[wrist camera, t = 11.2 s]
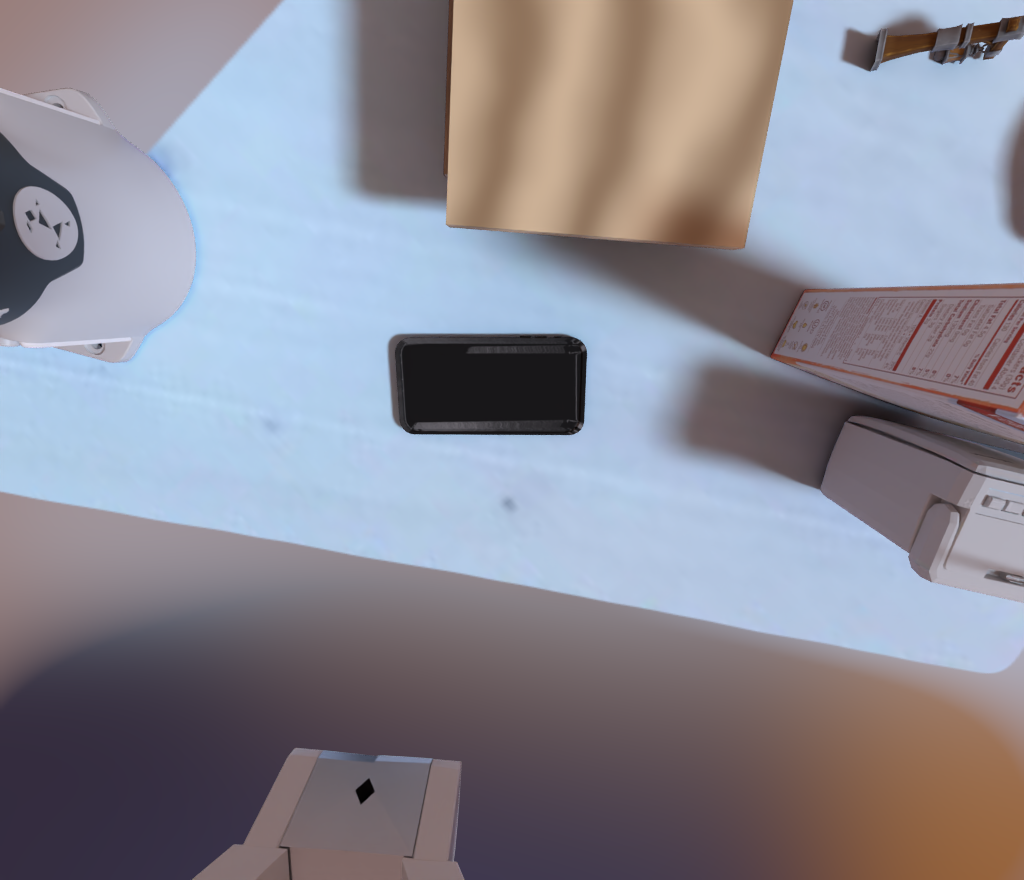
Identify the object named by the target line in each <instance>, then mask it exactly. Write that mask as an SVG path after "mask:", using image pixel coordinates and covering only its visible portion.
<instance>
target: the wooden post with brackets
mask: <svg viewBox="0 0 1024 880" xmlns="http://www.w3.org/2000/svg"><path fill="white" fill-rule="evenodd" d="M962 25H963V24H962ZM962 25H959V26H957V27H951V28H946V29H938V31H937V32H934V33H928V34H918V35H902V36H890V35H887V31H888V29H884V30H883V29H881V30H880V32H879V34H878V37H877V39H876V40H877V41H879V44H878V49H877V54H876V60H875V63H874V65H873V67H872V69H871V71H874V70H877V68H878V67H879V65H880V63H883V62H886V61H889V60H892V59H896V58H899V57H903V56H907V55H911V54H914V53H918V52H924V51H930V50H931V53H933V52H936V51H937V52H936V53H935V55H934V59H935V60H936V61H940V60H942V59H943V61H942V64H945V63H948V62H953V61H960V63H959V64H961V63H962V62H963V61H964V60H965V59H966V58H967V56H968V55H969V56H970V55H971V54H972V53H973V56H974V55H975V54H976V53H977V52H979V51H981V52H982V53H984V58H983V60H985V59H992V58H994V56H996V55H998V54H999V53H1000V52H1001V51H1002V48H1003V46H1004V45H1005V44H1006V43H1007V42H1008V40H1013V39H1019V40H1020V39H1021V38H1022V37H1023V35H1024V16H1019V17H1013V18H1002V19H1001V21H1000V22H997V23H990V24H984V25H977V26H973V25H974V23H972V24H969V23H968V25H967V26H966V27H963V28H962ZM979 42H984V43H986V44H985V45H983V46H982V47H980V45H979ZM974 43H978V44H977V45H976V46H975V47H974V45H973V46H972V45H971V44H974ZM987 45H988V46H987ZM984 46H987V48H986V49H985V51H983V49H984V48H983V47H984ZM979 49H980V50H979Z"/></svg>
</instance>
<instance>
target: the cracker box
mask: <svg viewBox="0 0 1024 880" xmlns="http://www.w3.org/2000/svg"><path fill="white" fill-rule="evenodd" d="M771 358H772V359H775V360H778V361H780V362H783V363H786V364H788V365H791V366H793V367H796V368H799V369H801V370H804V371H806V372H809V373H811V374H814V375H816V376H819V377H822V378H824V379H827V380H830V381H832V382H835V383H838V384H840V385H843V386H846V387H848V388H851V389H854V390H856V391H859V392H861V393H864V394H867V395H870V396H872V397H875V398H878V399H880V400H883V401H886V402H888V403H891V404H894V405H897V406H899V407H902V408H905V409H908V410H910V411H913V412H916V413H919V414H922V415H925V416H928V417H931V418H934V419H937V420H941V421H944V422H948V423H951V424H954V425H958V426H961V427H964V428H968V429H971V430H974V431H978V432H981V433H985V434H988V435H992V436H995V437H998V438H1002V439H1005V440H1009V441H1012V442H1015V443H1019V444H1022V445H1024V283H1007V284H979V285H945V286H910V287H875V288H843V289H808V290H805V291H804V292H803V294H802V296H801V298H800V300H799V302H798V304H797V306H796V308H795V310H794V312H793V314H792V316H791V317H790V319H789V321H788V323H787V325H786V327H785V329H784V331H783V333H782V335H781V337H780V339H779V341H778V343H777V345H776V347H775V349H774V351H773V353H772V355H771Z"/></svg>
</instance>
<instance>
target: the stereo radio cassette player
mask: <svg viewBox="0 0 1024 880" xmlns="http://www.w3.org/2000/svg"><path fill="white" fill-rule="evenodd" d="M848 421H850V422H846V421H845V424H844V426H843V428H842V430H841V433H840V435H839V437H838V439H837V442H836V444H835V446H834V449H833V452H832V454H831V457H830V459H829V462H828V465H827V468H826V472H825V475H824V478H823V482H822V485H821V489H820V490H821V492H822V493H823V494H824V495H825V496H826V497H827V498H829V499H830V500H832V501H833V502H835V503H836V504H838V505H839V506H841V507H842V508H843V509H845V510H846V511H848V512H849V513H851V514H852V515H854V516H855V517H857V518H858V519H860V520H861V521H863V522H864V523H866V524H867V525H869V526H870V527H872V528H873V529H874V530H876V531H877V532H879V533H880V534H882V535H883V536H885V537H886V538H888V539H889V540H890V541H892V542H893V543H895V544H896V545H898V546H899V547H901V548H902V549H904V550H905V551H907V552H908V553H909V556H908V558H909V561H910V564H911V568H912V569H913V570H914V571H915V572H916V573H917V574H918V575H919V576H920V577H922V578H924V579H926V580H928V581H930V582H933V583H938V584H942V585H946V586H951V587H955V588H960V589H964V590H969V591H973V592H978V593H982V594H986V595H991V596H995V597H1000V598H1004V599H1009V600H1013V601H1017V602H1022V603H1024V454H1023V453H1019V452H1015V451H1011V450H1007V449H1003V448H999V447H994V446H990V445H986V444H982V443H978V442H974V441H970V440H965V439H961V438H957V437H953V436H949V435H945V434H941V433H936V432H932V431H928V430H924V429H920V428H916V427H911V426H907V425H903V424H899V423H895V422H891V421H887V420H882V419H877V418H872V417H867V416H851V417H850V418H849V419H848ZM851 422H856V423H858V424H855V423H851Z"/></svg>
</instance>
